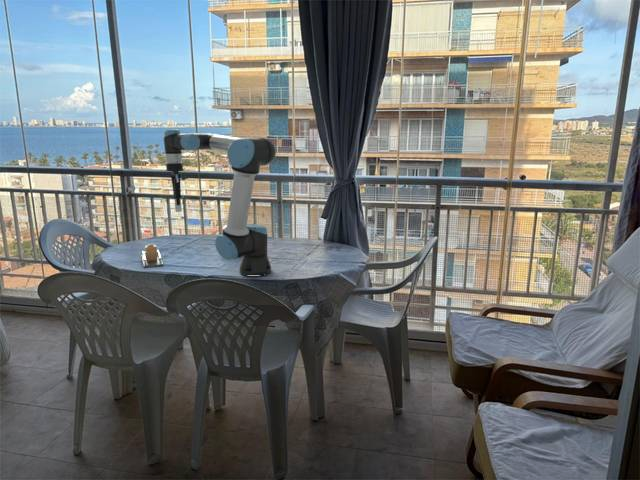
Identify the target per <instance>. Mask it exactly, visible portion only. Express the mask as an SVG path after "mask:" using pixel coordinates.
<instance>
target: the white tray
mask: <svg viewBox="0 0 640 480" xmlns="http://www.w3.org/2000/svg"><path fill="white" fill-rule="evenodd" d="M156 250H157V260H150V261H147V260H146V251H144V250H142V254H141V259H142V266H143V268H145V269H147V268H153V267H155V268H156V267H163V266H164V262H163V260H162V255H161V253H160V250H159V249H156Z"/></svg>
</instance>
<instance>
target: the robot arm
mask: <svg viewBox="0 0 640 480" xmlns="http://www.w3.org/2000/svg"><path fill="white" fill-rule="evenodd" d="M163 145H164V155H165V157H164V158H165V163H166V164H165V165H166V167H165V169H166V172H171V175H170V179H171V185H172V194H173V201H174V209H175V213H176V212H177V213H179V212H183V210H182V201H181V198H182V192H181V191H182V189H181V188H182V187H181V175H180V174H179V172H183V170H184V165H183V163H182V162H183V158H184V155H183V154H182V153H183V152H182V151H189V152H190V151H200V150H201V151H202V150H208V151H216V152H221V153H226V154H227V155H226V157H227V159H228V163H229V165H231V167H230V168H231V171H232V172H233V179H232V180H233V181H232V187H231V194H230V200H229V207H228V212H227V213H228V214H227V215H228V216H227V220H226V224H225V225H224V226H223V227H222V232H221V234H219V235H218V236H216V238H215V242H214V243H215V245H214V246H215V250H216V251H217V252H218V254H219V256H220V257H221V258H222V259H224V260H228V261H229V260H235V259H237V258H240V257H242V259H241V263H240V265H239V274H240V273H241V274H240V275H242V274H244V275H264V274H268V273H270V272H271V273H272V266H271V262H270V260H269V257H268V228H267V227H266V226H264V225H260V224H248V220H249V214H250V207H251V201H252V196H253V195H252V194H253V189H254V182H255V177H256V176H258V174H260V168H261V167H263V166H267V165H269V164H270V163H271V164H272V162H273V161H274V159H275V158H276V155H277V148H276V145H275V144H274V142H273V141H272V140H270V139H268V138H265V137H242V138H241V137H233V136H227V135H223V134H222V135H220V134H217V133H213V132H210V133H209V132H208V133H192V132H191V133H190V132H188V133H181V132H180V129H164V130H163ZM271 273H270V274H271ZM244 275H243V276H244ZM268 275H269V274H268Z"/></svg>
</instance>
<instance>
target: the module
mask: <svg viewBox="0 0 640 480" xmlns="http://www.w3.org/2000/svg"><path fill="white" fill-rule="evenodd" d="M144 248H145V252H146V260H147V261H150V260H157V250H158V249H157V245H156V244H146V245H145V247H144Z"/></svg>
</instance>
